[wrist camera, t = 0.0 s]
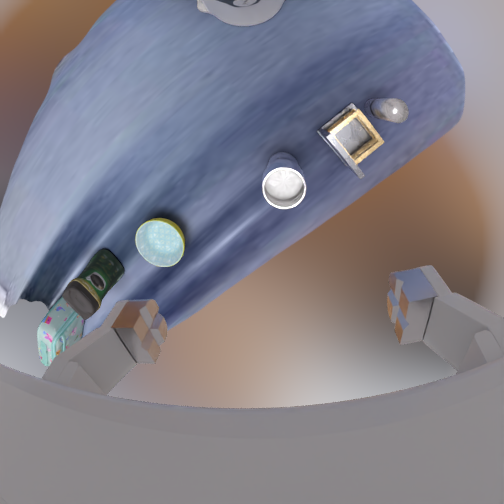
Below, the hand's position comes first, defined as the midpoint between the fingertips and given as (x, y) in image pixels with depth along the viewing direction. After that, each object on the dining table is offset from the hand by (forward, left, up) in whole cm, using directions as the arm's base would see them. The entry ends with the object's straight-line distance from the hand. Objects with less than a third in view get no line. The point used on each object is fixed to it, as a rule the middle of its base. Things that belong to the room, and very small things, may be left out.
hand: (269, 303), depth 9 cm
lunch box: (+42, -79, -48) cm, 101 cm away
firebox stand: (+1, +14, -48) cm, 50 cm away
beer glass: (+6, 0, -48) cm, 49 cm away
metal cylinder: (-4, +20, -48) cm, 52 cm away
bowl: (+16, -28, -48) cm, 58 cm away
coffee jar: (+22, -49, -48) cm, 72 cm away
